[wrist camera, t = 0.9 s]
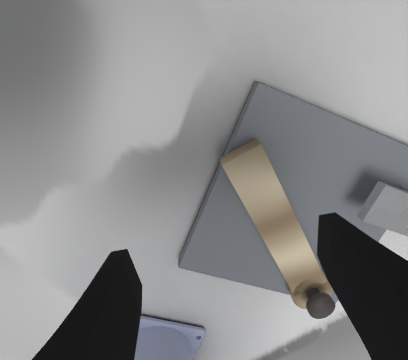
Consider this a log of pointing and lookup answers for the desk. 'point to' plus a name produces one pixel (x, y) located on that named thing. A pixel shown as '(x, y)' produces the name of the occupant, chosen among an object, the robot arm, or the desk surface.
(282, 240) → the tan latch lever
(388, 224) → the keeper
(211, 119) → the desk surface
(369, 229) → the base plate
